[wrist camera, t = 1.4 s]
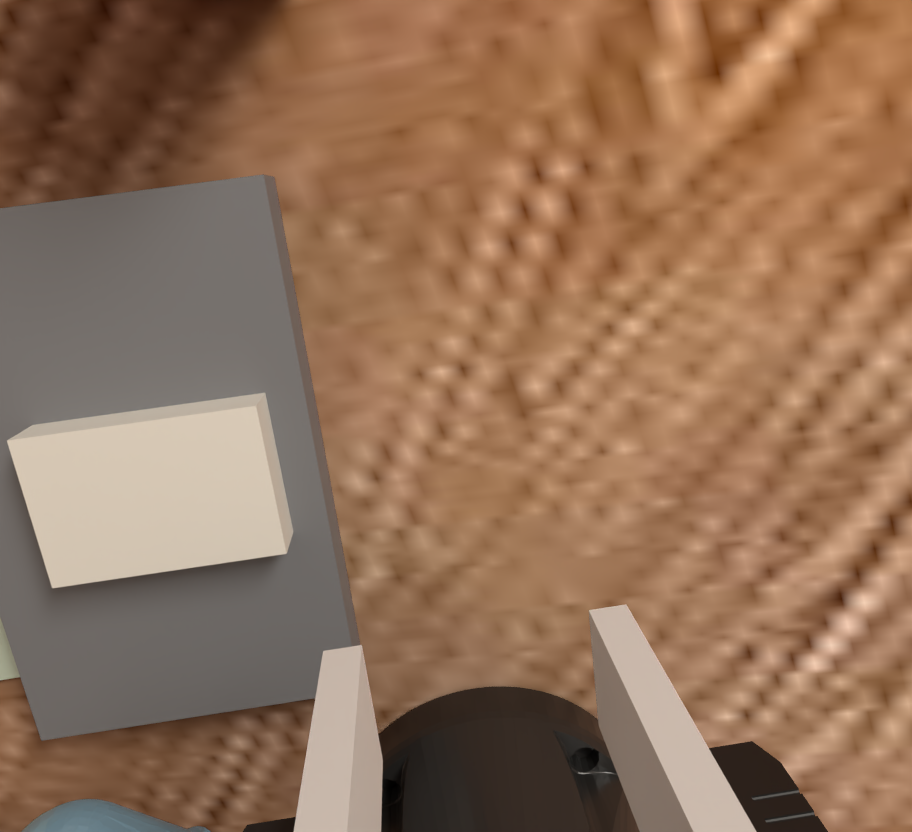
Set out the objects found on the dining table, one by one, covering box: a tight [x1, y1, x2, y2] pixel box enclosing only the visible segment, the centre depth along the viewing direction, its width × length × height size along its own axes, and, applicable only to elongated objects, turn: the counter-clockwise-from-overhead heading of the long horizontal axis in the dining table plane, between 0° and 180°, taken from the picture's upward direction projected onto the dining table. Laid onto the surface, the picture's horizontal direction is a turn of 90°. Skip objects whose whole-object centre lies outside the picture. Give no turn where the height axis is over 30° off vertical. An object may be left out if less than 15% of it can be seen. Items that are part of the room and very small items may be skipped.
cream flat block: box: [7, 393, 293, 588], centre depth 29 cm, size 9×6×2 cm, turn 97°
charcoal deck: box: [0, 175, 360, 741], centre depth 31 cm, size 22×14×2 cm, turn 7°
